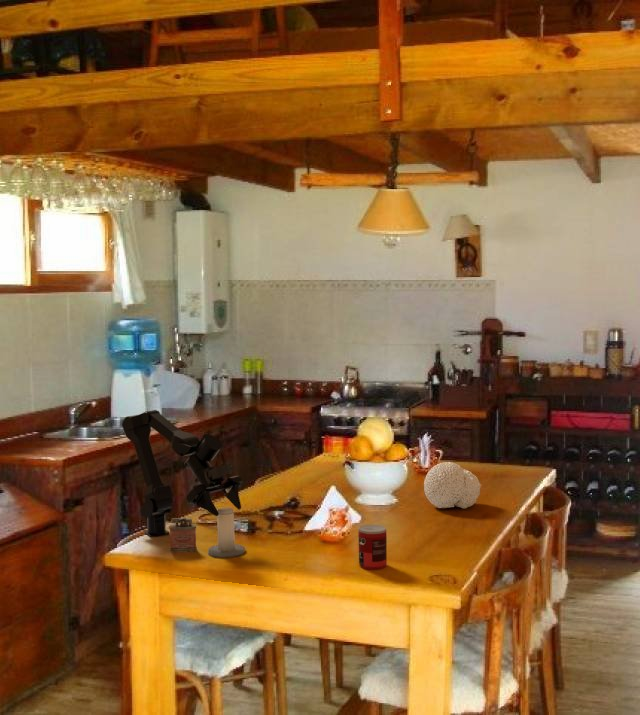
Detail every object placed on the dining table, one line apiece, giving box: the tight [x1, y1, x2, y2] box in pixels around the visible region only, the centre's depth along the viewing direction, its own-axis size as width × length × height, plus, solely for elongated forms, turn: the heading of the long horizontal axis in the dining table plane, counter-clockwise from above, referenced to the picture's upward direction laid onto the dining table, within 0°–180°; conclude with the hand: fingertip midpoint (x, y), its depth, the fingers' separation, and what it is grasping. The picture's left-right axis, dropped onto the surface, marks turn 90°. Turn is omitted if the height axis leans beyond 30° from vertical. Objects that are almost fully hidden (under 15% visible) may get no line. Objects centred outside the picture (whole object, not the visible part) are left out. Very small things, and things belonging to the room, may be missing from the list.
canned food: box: [357, 524, 388, 571], centre depth 276 cm, size 8×8×11 cm
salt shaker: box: [216, 507, 236, 551], centre depth 291 cm, size 5×5×12 cm
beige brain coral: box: [423, 461, 482, 509], centre depth 340 cm, size 20×18×16 cm
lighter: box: [168, 516, 198, 553], centre depth 294 cm, size 8×3×10 cm, turn 92°
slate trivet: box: [207, 543, 246, 559], centre depth 292 cm, size 11×11×1 cm
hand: (229, 512), depth 289 cm, fingers open, 9 cm apart
